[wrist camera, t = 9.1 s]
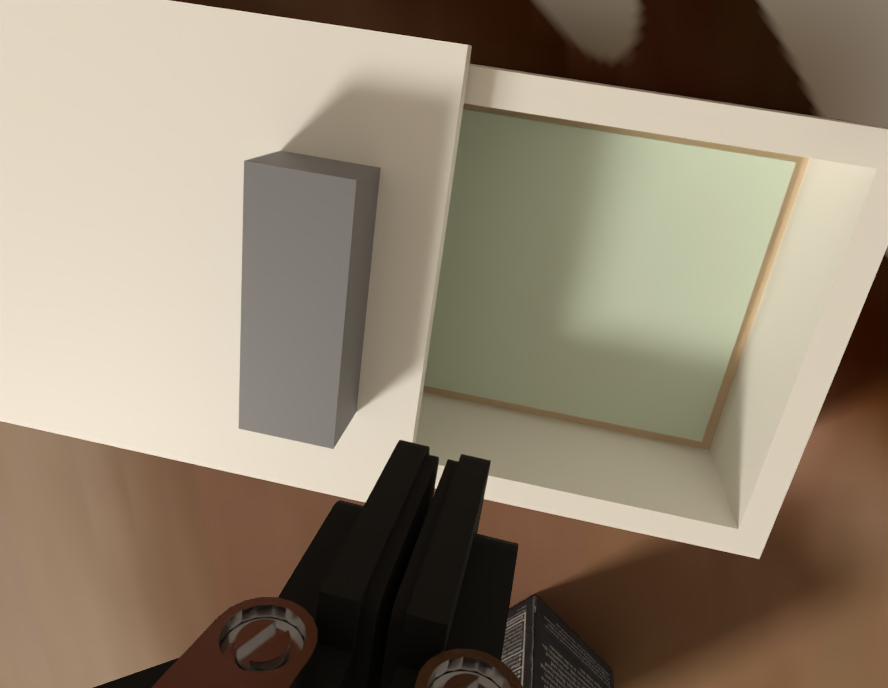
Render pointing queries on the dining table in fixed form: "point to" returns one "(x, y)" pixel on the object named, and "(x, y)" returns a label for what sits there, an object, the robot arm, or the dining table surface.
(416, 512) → the robot arm
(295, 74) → the lid
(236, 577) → the dining table surface
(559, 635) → the small box
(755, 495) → the base
